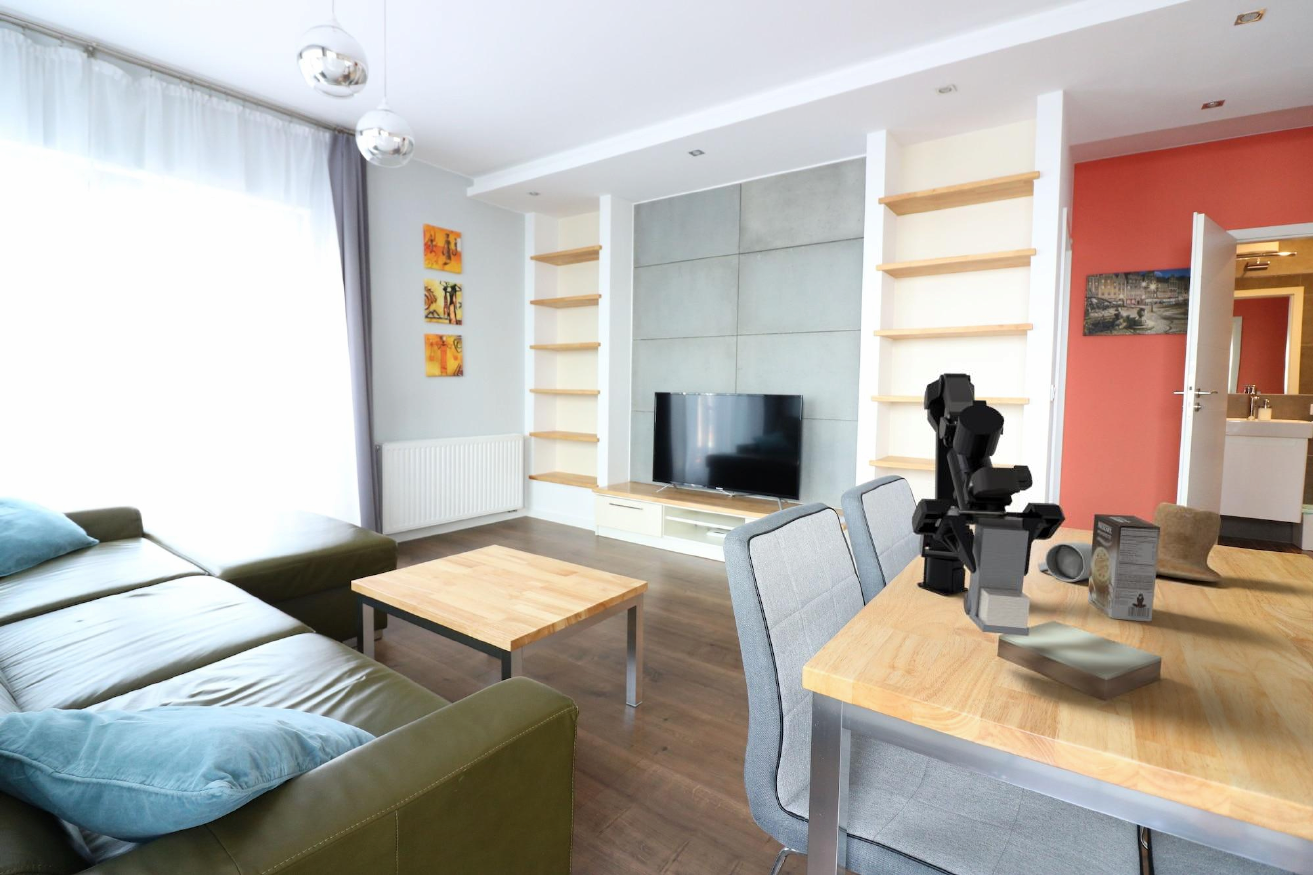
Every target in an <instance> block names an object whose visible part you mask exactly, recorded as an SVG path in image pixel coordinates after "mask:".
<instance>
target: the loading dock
mask: <svg viewBox="0 0 1313 875" xmlns="http://www.w3.org/2000/svg"><path fill="white" fill-rule="evenodd" d="M1027 627H1028V626H1027ZM1028 628H1029V636H1023V635H1012V634H999V635H998V642H997V643H998V644H997V657H1000V658H1001V659H1004V660H1006V661H1010V662H1011V663H1014V664H1016V665H1019V666H1021V667H1024V668H1026V669H1027V670H1031V671H1033V672H1036V673H1038V674H1041V675H1042V676H1045V677H1048V678H1049V679H1052V680H1055V681H1057V682H1060V683H1062V684H1065V685H1066V686H1069V687H1071V688H1074V689H1077V690H1078V691H1081V692H1083V693H1086V694H1088V695H1091V696H1093V697H1096V698H1098V699H1101V700H1103V701H1108V700H1109V699H1113V698H1115V697H1117V696H1119V695H1122V694H1125V693H1127V692H1130V691H1132V690H1133V691H1134V690H1135V689H1138V688H1140V687H1143V686H1145V685H1147V684H1150V683H1153V682H1156V681H1158V680H1160V679H1161V671H1162V670H1161V669H1162V668H1161V667H1162V660H1163V659H1162V656H1159V655H1156V654H1154V653H1151V652H1149V651H1145V650H1142V649H1139V648H1135V647H1133V646H1130V645H1128V644H1123V643H1121V642H1118V641H1115V640H1113V639H1110V638H1106V637H1103V636H1100V635H1097V634H1094V633H1092V632H1088V631H1086V630H1082V629H1080V628H1076V627H1073V626H1070V625H1068V624H1064V623H1061V622H1058V621H1056V620H1050V621H1047V622H1044V623H1041V624H1037V625H1033V626H1029V627H1028Z"/></svg>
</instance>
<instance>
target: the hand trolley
mask: <svg viewBox="0 0 1313 875" xmlns="http://www.w3.org/2000/svg"><path fill="white" fill-rule="evenodd" d="M973 522H974V523H975V525H974V531H973V533H974V542H973V554H974V558H975V562H976V568H977V570H976V572H975V573H971V572H970V574H969V583H968V592H965V594H964V596H963V609H964V610H963V612H964V614H965V615H966V616H968V617H969V619H970V620H971V621H972V622H973V624H975V625H976V626H977V628H978V629H979V630H980V631H981V632H982V633H990V634H1000V635H1002V634H1012V635H1023V636H1029V628H1028V622H1029V612H1030V606H1031V605H1030V604H1031V598H1030V597H1029V596H1028V595H1026V593H1024V592H1023V590H1024V588H1023V587H1024V578H1025V576H1024V571H1025V561H1026V552H1027V543H1028V533H1029V531H1027V530H1025V529H1023V528H1022V523H1023V520H1021V519H1019V518H1017V517H1005V516H990V515H975V514H973Z"/></svg>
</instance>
